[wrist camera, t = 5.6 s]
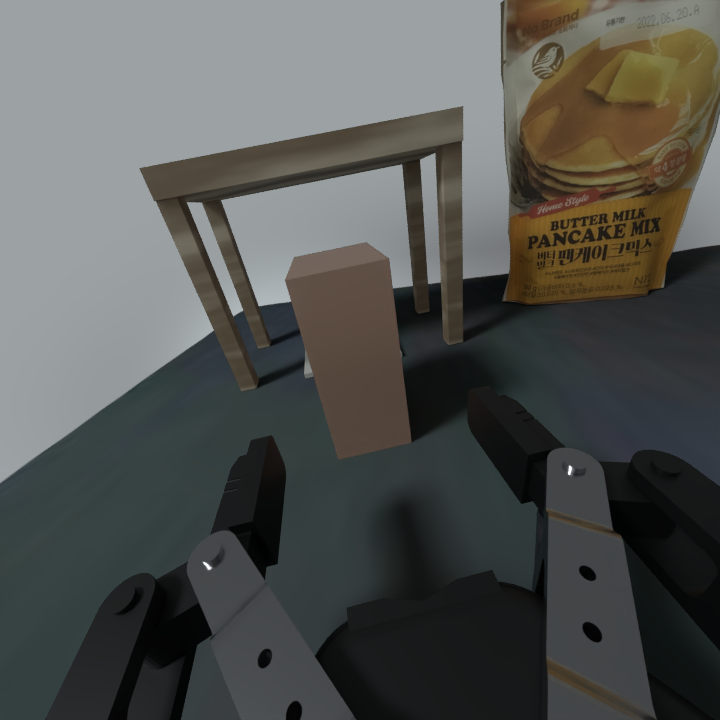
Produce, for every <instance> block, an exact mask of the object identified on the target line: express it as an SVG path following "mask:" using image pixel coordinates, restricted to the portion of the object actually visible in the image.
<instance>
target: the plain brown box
mask: <svg viewBox="0 0 720 720" xmlns="http://www.w3.org/2000/svg"><path fill="white" fill-rule="evenodd" d="M285 281H286V285H287V288H288V292H289V295H290V298H291V302H292V305H293V309H294V312H295V315H296V319H297V322H298V325H299V329H300V332H301V335H302V339H303V342H304V345H305V349H306V352H307V355H308V359H309V362H310V366H311V369H312V372H313V376H314V379H315V382H316V386H317V389H318V392H319V396H320V399H321V402H322V406H323V409H324V413H325V416H326V419H327V423H328V426H329V429H330V433H331V436H332V439H333V443H334V446H335V449H336V453H337V456H338V460H340V459H344V458H348V457H352V456H357V455H361V454H365V453H369V452H374V451H378V450H382V449H386V448H391V447H395V446H399V445H403V444H408V443H412V441H411V433H410V425H409V417H408V408H407V400H406V392H405V384H404V376H403V368H402V360H401V352H400V344H399V335H398V327H397V319H396V311H395V303H394V295H393V287H392V279H391V270H390V262H389V258H388V257H386V256H385V255H383V254H382V253H381V252H379V251H378V250H376V249H375V248H373V247H372V246H371V245H369V244H368V243H366V242H365V243H361V244H356V245H351V246H347V247H342V248H337V249H332V250H327V251H322V252H317V253H312V254H308V255H303V256H298V257H294V259H293V261H292V264H291V267H290V269H289V272H288V274H287V277H286V279H285Z"/></svg>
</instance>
